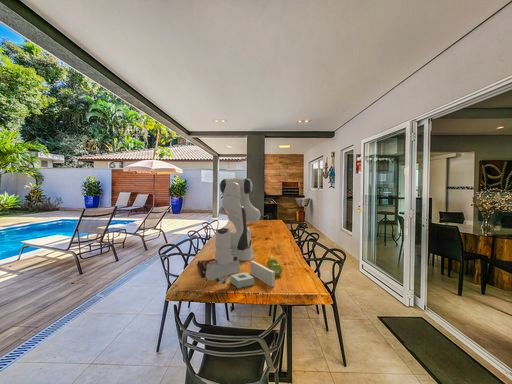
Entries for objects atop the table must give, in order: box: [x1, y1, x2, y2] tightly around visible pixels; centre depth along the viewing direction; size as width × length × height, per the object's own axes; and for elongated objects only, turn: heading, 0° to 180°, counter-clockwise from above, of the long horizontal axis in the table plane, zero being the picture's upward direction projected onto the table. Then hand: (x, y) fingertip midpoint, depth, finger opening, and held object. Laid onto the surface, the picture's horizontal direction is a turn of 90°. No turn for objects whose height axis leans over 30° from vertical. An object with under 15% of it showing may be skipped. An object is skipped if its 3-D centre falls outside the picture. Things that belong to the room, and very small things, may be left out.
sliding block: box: [229, 272, 255, 289], centre depth 144 cm, size 10×10×4 cm
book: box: [197, 258, 233, 279], centre depth 169 cm, size 28×21×5 cm
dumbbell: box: [266, 257, 283, 277], centre depth 164 cm, size 16×8×7 cm, turn 6°
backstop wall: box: [249, 260, 276, 287], centre depth 150 cm, size 24×2×8 cm, turn 31°
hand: (223, 283), depth 138 cm, fingers closed
